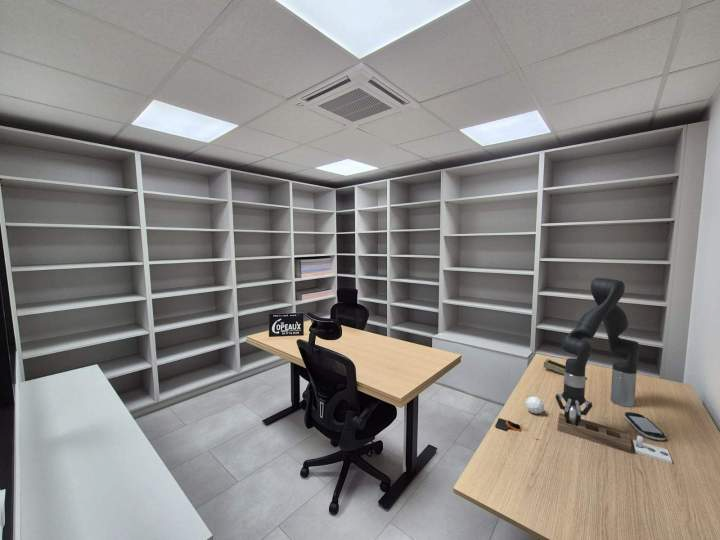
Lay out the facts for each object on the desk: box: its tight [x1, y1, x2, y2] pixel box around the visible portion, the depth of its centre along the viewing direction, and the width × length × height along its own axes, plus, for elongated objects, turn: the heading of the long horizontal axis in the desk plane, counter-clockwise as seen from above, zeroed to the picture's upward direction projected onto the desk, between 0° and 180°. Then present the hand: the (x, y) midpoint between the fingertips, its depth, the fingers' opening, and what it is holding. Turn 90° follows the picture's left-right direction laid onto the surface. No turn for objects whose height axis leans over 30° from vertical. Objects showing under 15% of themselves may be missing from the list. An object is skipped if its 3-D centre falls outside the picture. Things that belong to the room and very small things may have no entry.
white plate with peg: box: [632, 435, 673, 465], centre depth 116 cm, size 8×10×5 cm
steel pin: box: [568, 405, 577, 426], centre depth 131 cm, size 3×3×8 cm
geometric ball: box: [525, 395, 545, 415], centre depth 145 cm, size 8×8×8 cm
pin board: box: [557, 412, 632, 454], centre depth 128 cm, size 11×24×3 cm, turn 53°
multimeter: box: [494, 417, 540, 441], centre depth 132 cm, size 18×12×3 cm, turn 49°
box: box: [543, 358, 588, 381], centre depth 187 cm, size 8×22×5 cm, turn 47°
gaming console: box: [623, 411, 667, 442], centre depth 132 cm, size 19×9×2 cm, turn 161°
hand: (572, 420), depth 132 cm, fingers closed on steel pin, 3 cm apart
